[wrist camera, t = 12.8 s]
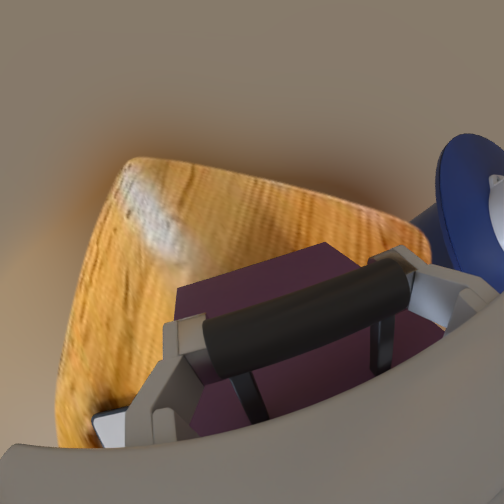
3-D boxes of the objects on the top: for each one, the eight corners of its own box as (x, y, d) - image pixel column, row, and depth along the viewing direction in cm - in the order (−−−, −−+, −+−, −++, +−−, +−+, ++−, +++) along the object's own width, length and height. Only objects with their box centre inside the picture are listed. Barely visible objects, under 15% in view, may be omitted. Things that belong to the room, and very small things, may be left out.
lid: (476, 374, 8) (508, 253, 6) (177, 497, 7) (77, 414, 5) (326, 250, 23) (314, 184, 21) (180, 296, 22) (155, 231, 20)
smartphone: (92, 413, 26) (149, 511, 22) (86, 416, 24) (146, 516, 21) (149, 399, 27) (208, 503, 23) (144, 402, 25) (206, 509, 22)
